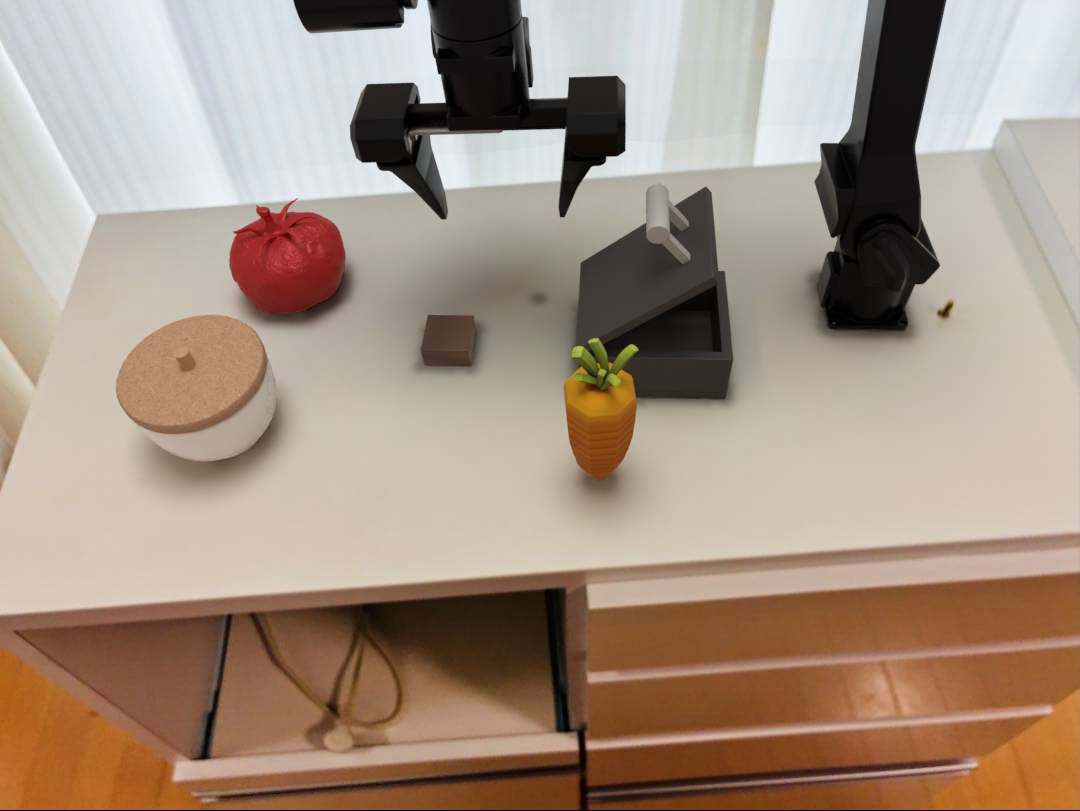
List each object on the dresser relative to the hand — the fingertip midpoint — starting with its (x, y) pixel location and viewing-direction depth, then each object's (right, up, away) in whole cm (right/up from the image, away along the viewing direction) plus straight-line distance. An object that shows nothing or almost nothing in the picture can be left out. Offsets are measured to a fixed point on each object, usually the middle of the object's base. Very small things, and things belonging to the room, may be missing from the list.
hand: (503, 214), depth 64 cm
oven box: (+12, -10, +5) cm, 17 cm away
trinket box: (-22, -17, +3) cm, 28 cm away
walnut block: (-5, -10, +7) cm, 13 cm away
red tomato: (-19, -4, +12) cm, 23 cm away
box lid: (+11, -5, -2) cm, 12 cm away
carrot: (+7, -20, -2) cm, 22 cm away
